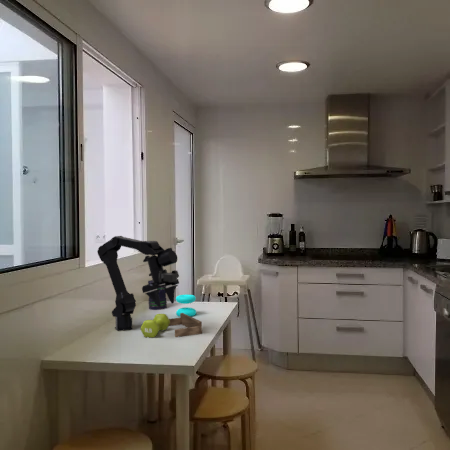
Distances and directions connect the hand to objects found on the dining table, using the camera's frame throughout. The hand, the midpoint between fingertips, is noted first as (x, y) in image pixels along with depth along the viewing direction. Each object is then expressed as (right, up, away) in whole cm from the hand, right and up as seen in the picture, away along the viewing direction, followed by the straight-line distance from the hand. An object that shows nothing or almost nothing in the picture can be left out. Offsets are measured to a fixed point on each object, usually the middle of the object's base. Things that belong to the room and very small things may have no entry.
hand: (166, 304), depth 211 cm
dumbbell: (-5, -13, +2) cm, 14 cm away
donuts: (+6, -12, +38) cm, 41 cm away
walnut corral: (+5, -12, +7) cm, 15 cm away
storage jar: (-12, -12, +60) cm, 62 cm away
